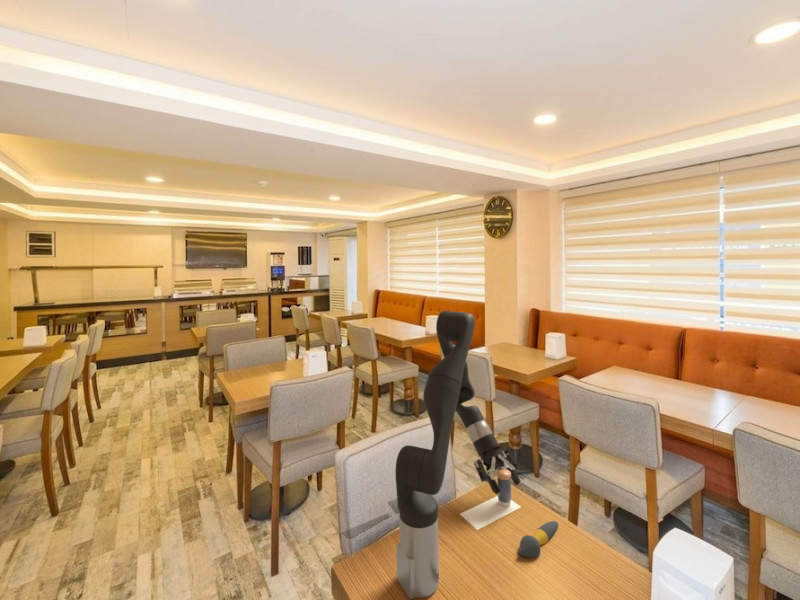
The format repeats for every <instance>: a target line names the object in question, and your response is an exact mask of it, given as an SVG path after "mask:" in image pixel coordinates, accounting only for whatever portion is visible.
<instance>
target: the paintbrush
mask: <svg viewBox="0 0 800 600" xmlns="http://www.w3.org/2000/svg"><path fill="white" fill-rule="evenodd" d="M558 528H559V522H558V521H556V520H555V521H554V520H552V521H548V522H546V523H544V524H542V525H540V527H538V528H537V529H536V530H535V532H534V535H533V536H532V535H530V534H528V535H524V536H522V538H521V539H520V543H519V550H518V551H517V552H516V554H518V555H520V556H522V557H524V558H527V559H528V558H529V559H531V558H532V559H533V558H537V557H539V556H540V554H541V546H542V545H545V544H546V543H548V542H549V541H550V540H551V539H552V538H553V536H555V534H556V532H557V531H558Z"/></svg>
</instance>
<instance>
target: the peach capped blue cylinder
mask: <svg viewBox="0 0 800 600" xmlns="http://www.w3.org/2000/svg"><path fill="white" fill-rule="evenodd" d="M496 473H497V474H496V477H497V481H496V482H497V485H498V487H499V489H500V491H501V492H500V493H498V494H497V496H498V503H499V505H500V506H502V507H509V506H510V505H511V500H512V478H511V472H510V471H509V470H506V469H502V468H499V469H497V472H496Z"/></svg>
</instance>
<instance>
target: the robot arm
mask: <svg viewBox="0 0 800 600" xmlns="http://www.w3.org/2000/svg"><path fill="white" fill-rule="evenodd" d="M475 321H476V319H475V317H474V315H473V314H471V313H468V312H462V311H452V310H451V311H450V310H443V311H442V310H441V312H440V313H438V316H437V318H436V327H435V328H436V329H435V330H436V337H437V340H438V343H439V345H440V349H441V352H442V355H443V358H442V359H441V360H440V361H439V362H437V364H435V365H434V367H432V369H431V370H430V371H429V373H428V375H427V379H426V383H425V386H424V390H423V396H422V397H423V403H424V407H425V410H426V412H427V414H428V415H427V416H428V418H429V420H430V423H431V427H432V432H433V442H432V448H431V449H430V448H424V447H419V446H416V445H415V446H414V445H410V444H409V445H404V446H402V448H401V449H400V450H399V452H398V454H397V456H396V457H397V458H396V460H395V461H396V462H395V471H394V472H395V474H394V475H395V486H396V500H397V501H396V503H397V504H396V505H397V509H398V511H399V512H398V514H399V542H398V543H396V581H397V582H398V583H399V585H400V586H401V588H402V589H403V591H404V593H405V594H406V595H407V597H408V598H409V600H413V599H414V598H415V599H416V598H417V599H418V598H420V599H422V598H428V597H430V596H431V595H433V594H434V593H435V592H436V591H437V589H438V587H439V581H440V580H439V579H440V577H439V576H440V574H439V573H440V570H439V568H440V567H439V566H440V565H439V560H440V559H439V557H440V556H439V505H438V502H437V500H436V499H435V497H434V496H435V495H437V494H438V493H439V492H440V490H441V488H442V486H443V483H444V479H445V474H446V469H447V468H446V467H447V460H448V453H449V447H450V441H451V440H450V438H451V433H452V428H453V424H454V423H453V422H454V419H455V415H456V414H457V415H458V416H459V418H460V419H461V422H462V424H463V425H464V427H465V429H466V432H467V435H468V437H469V439H470V441H471V443H472V445H473V447H474V450H475V451H476V454H477V455H478V457H480V459H479V458H478V459H477V460H476V461H474V463H473V464H474V467H475V470H476V471H477V474H478V477H479V479H480V480H481V482H482V483H484V482H487V483H488V484H489V486H490V489H491V490H492V493H494V495H498V493H500V492H501V491H500V489H499V487H498V482H497V481H496V479H495V478H494V477H495V476H494V475H495V471H496V470H499V469H506V470H509V471H510V472H511V481H512V482H513V484H514V485H515V486H517V485H519V484H521V478H520V477H519V475H518V473H517V471H516V468H517V467H519V464H518V462H517V460H516V458H515V457H514V455H513V453H512V452H511V451H510V449H509V448H508V447H507V448H506V449H504V450H501V449H500V444H499V443H498V441H497V438H496V437H495V435H494V433H493V431H492V429H491V427H490V426H489V424H488V423H487V421H486V420H485V417H484V415H483V414H482V412H481V411H480V408H479V407H478V406H477V405H470V406H469V405H467V406H465V405H463V403H466V402H468V401H471V400H472V399H474V397H475V389H474V387H473V385H472V383H471V380H470V378H469V367H468V362H467V358H468V354H469V350H470V348H471V344H472V340H473V336H474V332H475V326H476V322H475ZM454 343H455V344H454ZM455 413H456V414H455Z"/></svg>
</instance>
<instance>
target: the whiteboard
mask: <svg viewBox="0 0 800 600" xmlns="http://www.w3.org/2000/svg"><path fill="white" fill-rule="evenodd" d="M520 508H522V507H521V505H519V504H518V503H516V502H515V501H513V499H511V505H510V506H509V507H502V506H500V505H499V503H498V495H496V496H494V497H491V498H490V499H488V500H486V501H484V502H481V503H479V504H478V505H475V506H474V507H471V508H470V509H468V510H465V511H463V512H461V513H459V515H460V516H461V517H462V518H463V519H465V520H466V521H467V522H468V524H469V525H471V526H472V527H473V528H475V530H476V531H478V530H480V529H482V528H484V527H486V526H488V525H490V524H491V523H493V522H496V521H497V520H500V519H501V518H503V517H505V516H507V515H509V514H511V513H513V512H515V511H516V510H519V509H520Z"/></svg>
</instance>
